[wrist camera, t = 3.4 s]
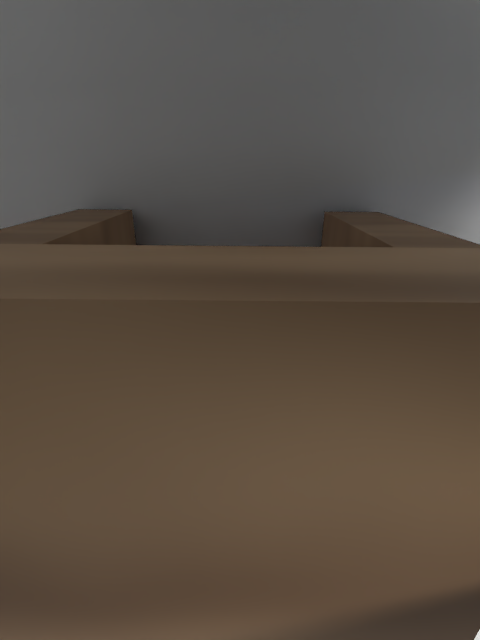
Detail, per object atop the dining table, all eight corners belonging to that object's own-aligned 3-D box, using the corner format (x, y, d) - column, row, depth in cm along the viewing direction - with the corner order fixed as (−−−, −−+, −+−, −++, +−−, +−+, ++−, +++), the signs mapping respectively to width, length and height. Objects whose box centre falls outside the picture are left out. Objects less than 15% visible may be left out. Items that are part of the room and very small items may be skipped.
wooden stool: (78, 209, 10) (-265, 296, 3) (377, 211, 10) (666, 304, 3) (120, 438, 14) (1, 704, 7) (338, 439, 14) (435, 706, 7)
